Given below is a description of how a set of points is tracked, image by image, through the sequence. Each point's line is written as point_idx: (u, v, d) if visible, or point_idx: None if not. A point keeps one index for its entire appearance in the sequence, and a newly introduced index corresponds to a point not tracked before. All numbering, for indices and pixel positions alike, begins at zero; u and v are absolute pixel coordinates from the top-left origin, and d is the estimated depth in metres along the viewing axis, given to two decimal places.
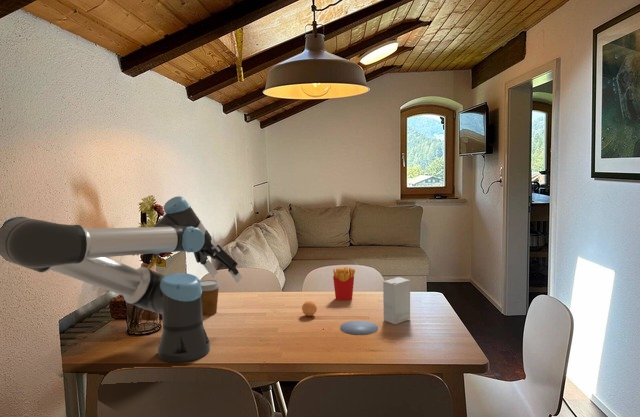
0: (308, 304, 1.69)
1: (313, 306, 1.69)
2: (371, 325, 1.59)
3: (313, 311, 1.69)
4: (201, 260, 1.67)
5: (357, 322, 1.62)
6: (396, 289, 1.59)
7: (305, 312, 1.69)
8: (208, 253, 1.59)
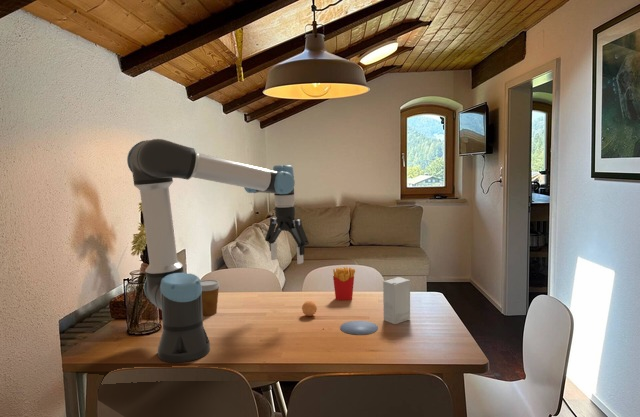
0: (308, 304, 1.69)
1: (313, 306, 1.69)
2: (371, 325, 1.59)
3: (313, 311, 1.69)
4: (272, 237, 1.77)
5: (357, 322, 1.62)
6: (396, 289, 1.59)
7: (305, 312, 1.69)
8: (287, 224, 1.71)
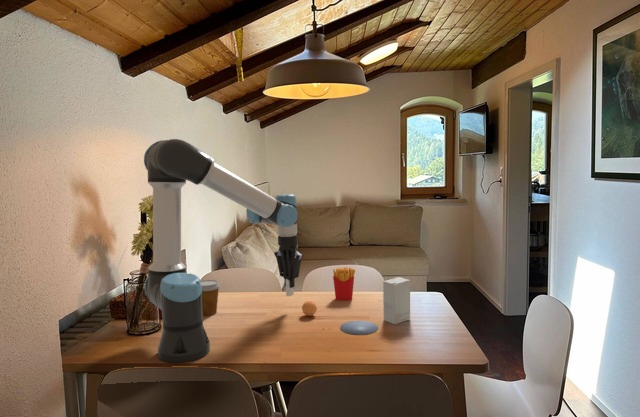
0: (308, 304, 1.69)
1: (313, 306, 1.69)
2: (371, 325, 1.59)
3: (313, 311, 1.69)
4: (284, 271, 1.76)
5: (357, 322, 1.62)
6: (396, 289, 1.59)
7: (305, 312, 1.69)
8: (289, 255, 1.73)
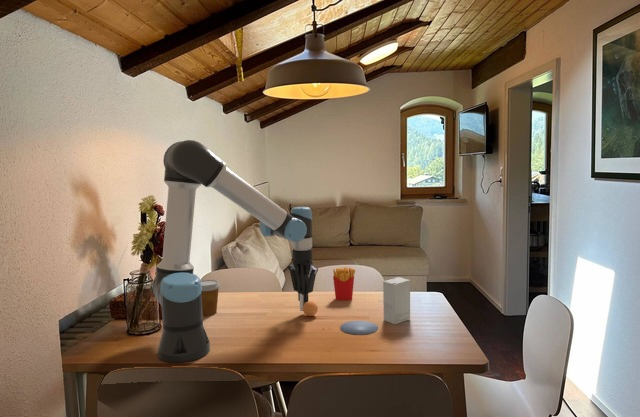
0: (309, 304, 1.69)
1: (314, 306, 1.69)
2: (371, 325, 1.59)
3: (314, 311, 1.69)
4: (298, 285, 1.72)
5: (357, 322, 1.62)
6: (396, 289, 1.59)
7: (306, 312, 1.69)
8: (303, 269, 1.69)
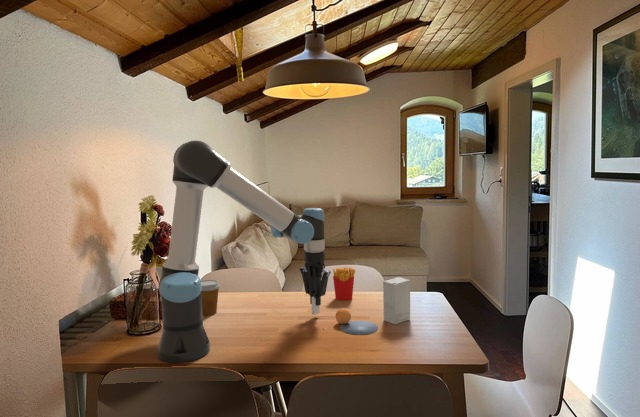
0: (336, 313, 1.62)
1: (340, 309, 1.62)
2: (371, 325, 1.59)
3: (343, 310, 1.60)
4: (310, 288, 1.68)
5: (357, 322, 1.62)
6: (396, 289, 1.59)
7: (340, 318, 1.59)
8: (316, 272, 1.65)
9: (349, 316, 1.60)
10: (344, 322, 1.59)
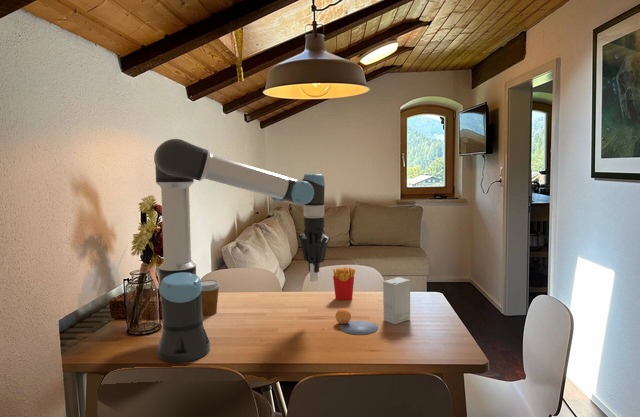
0: (336, 313, 1.62)
1: (340, 309, 1.62)
2: (371, 325, 1.59)
3: (343, 310, 1.60)
4: (308, 254, 1.67)
5: (357, 322, 1.62)
6: (396, 289, 1.59)
7: (340, 318, 1.59)
8: (315, 238, 1.64)
9: (349, 316, 1.60)
10: (344, 322, 1.59)
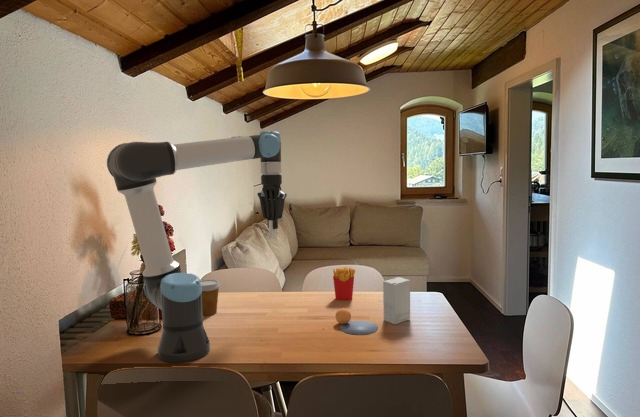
0: (336, 313, 1.62)
1: (340, 309, 1.62)
2: (371, 325, 1.59)
3: (343, 310, 1.60)
4: (267, 212, 1.70)
5: (357, 322, 1.62)
6: (396, 289, 1.59)
7: (340, 318, 1.59)
8: (272, 194, 1.67)
9: (349, 316, 1.60)
10: (344, 322, 1.59)
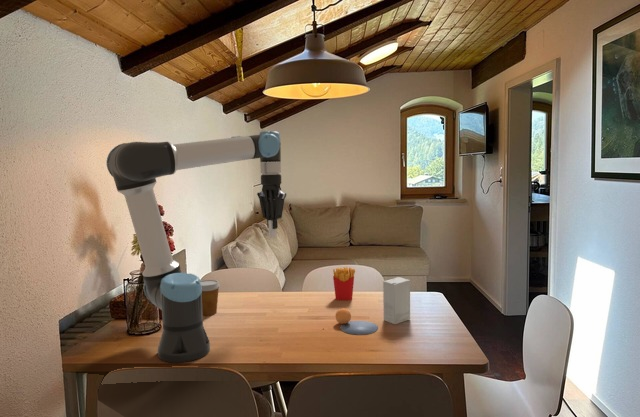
0: (336, 313, 1.62)
1: (340, 309, 1.62)
2: (371, 325, 1.59)
3: (343, 310, 1.60)
4: (267, 211, 1.70)
5: (357, 322, 1.62)
6: (396, 289, 1.59)
7: (340, 318, 1.59)
8: (272, 194, 1.67)
9: (349, 316, 1.60)
10: (344, 322, 1.59)
